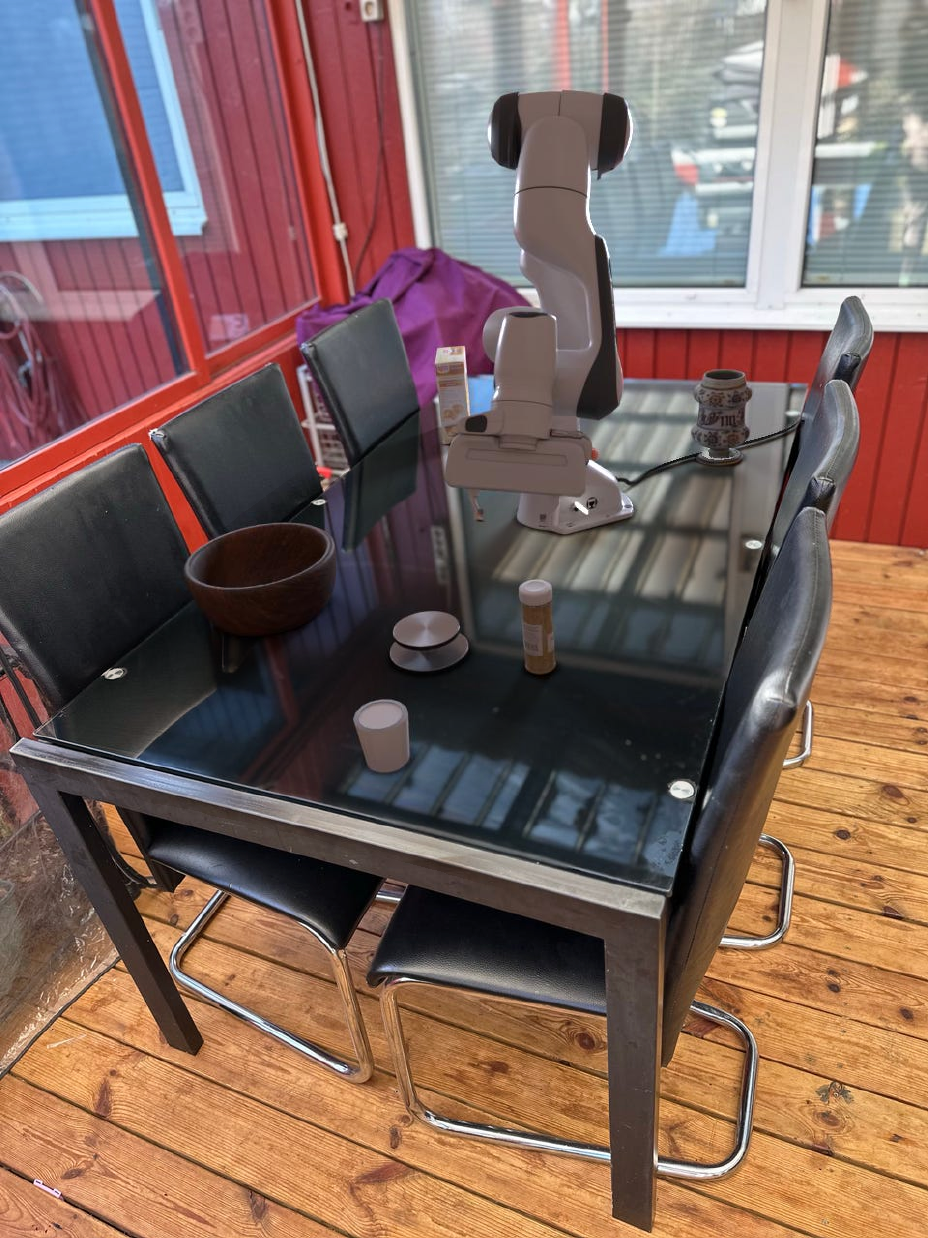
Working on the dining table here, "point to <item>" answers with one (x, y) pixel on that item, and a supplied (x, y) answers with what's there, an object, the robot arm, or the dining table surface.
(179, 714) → the dining table surface
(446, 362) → the coffeecake box
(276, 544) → the wooden bowl
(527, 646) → the sprinkles bottle
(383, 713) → the pale pink cup
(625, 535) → the dining table surface
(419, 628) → the stand
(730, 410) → the apothecary jar
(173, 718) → the dining table surface
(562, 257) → the robot arm
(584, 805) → the dining table surface
